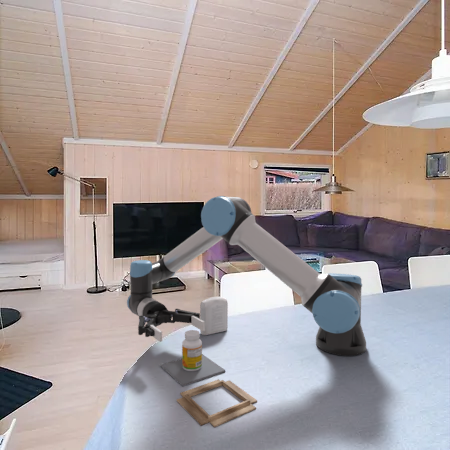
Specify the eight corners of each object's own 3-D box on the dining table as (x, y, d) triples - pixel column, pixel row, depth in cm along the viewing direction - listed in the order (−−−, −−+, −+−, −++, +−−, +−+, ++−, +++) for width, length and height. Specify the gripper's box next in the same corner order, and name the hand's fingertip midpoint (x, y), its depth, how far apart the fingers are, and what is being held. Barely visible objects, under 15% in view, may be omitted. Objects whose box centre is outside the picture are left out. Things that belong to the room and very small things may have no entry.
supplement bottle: (182, 362, 98) (182, 329, 98) (201, 362, 99) (201, 328, 98) (181, 372, 93) (181, 336, 92) (202, 371, 93) (202, 336, 93)
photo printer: (222, 327, 128) (222, 293, 127) (229, 330, 124) (229, 296, 123) (198, 333, 122) (198, 298, 121) (204, 336, 118) (204, 301, 118)
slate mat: (200, 354, 105) (200, 352, 105) (225, 371, 94) (225, 369, 94) (160, 366, 97) (160, 364, 97) (182, 386, 87) (182, 384, 87)
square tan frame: (224, 378, 91) (224, 374, 91) (262, 405, 78) (262, 401, 78) (172, 396, 82) (172, 392, 82) (206, 430, 70) (206, 426, 70)
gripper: (185, 315, 123) (219, 334, 106) (115, 331, 109) (141, 355, 92) (185, 295, 123) (219, 310, 105) (115, 307, 108) (140, 327, 91)
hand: (183, 331), depth 99 cm, fingers open, 13 cm apart
